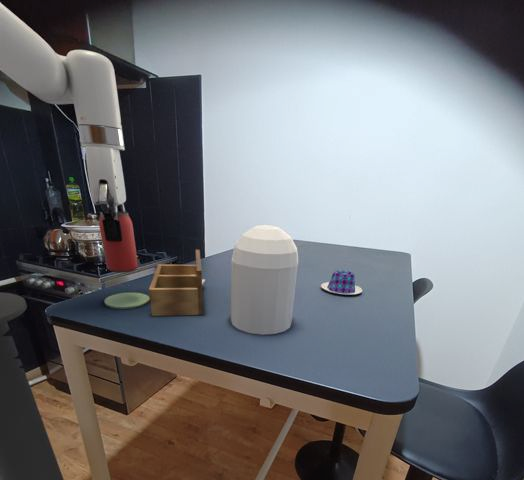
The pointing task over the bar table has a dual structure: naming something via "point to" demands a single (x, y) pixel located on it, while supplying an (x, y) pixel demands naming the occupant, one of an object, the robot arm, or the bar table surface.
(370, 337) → the bar table surface
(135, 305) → the coaster
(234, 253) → the container
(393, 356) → the bar table surface
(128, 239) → the beer can
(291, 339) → the bar table surface
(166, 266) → the box
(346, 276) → the pudding
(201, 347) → the bar table surface
